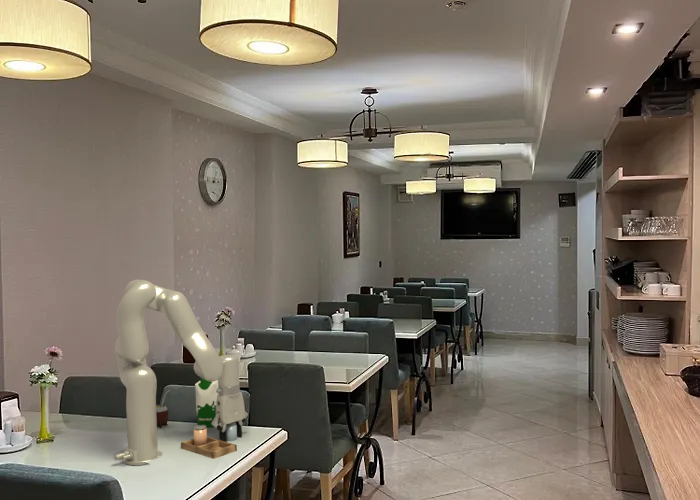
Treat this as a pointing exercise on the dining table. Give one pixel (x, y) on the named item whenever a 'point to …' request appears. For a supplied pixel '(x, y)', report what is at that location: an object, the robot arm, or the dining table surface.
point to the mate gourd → (162, 414)
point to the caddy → (210, 448)
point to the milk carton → (206, 402)
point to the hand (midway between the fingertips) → (230, 439)
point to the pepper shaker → (200, 435)
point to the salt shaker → (231, 431)
